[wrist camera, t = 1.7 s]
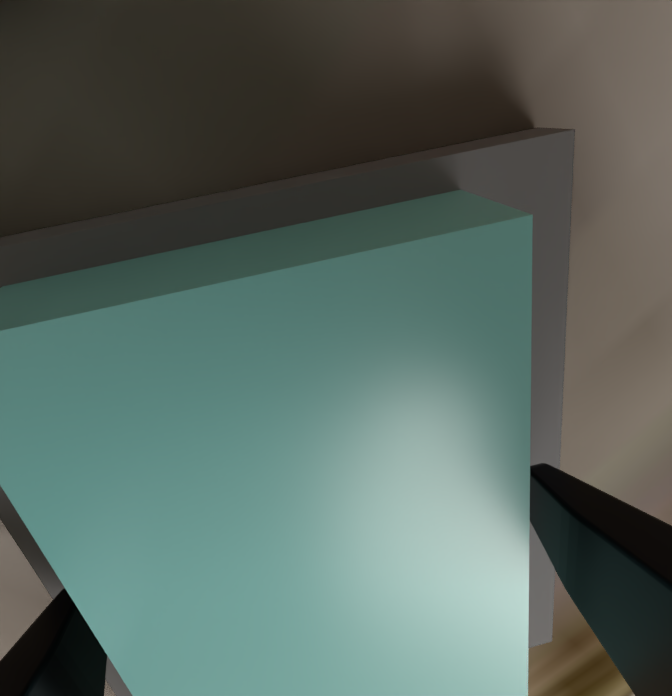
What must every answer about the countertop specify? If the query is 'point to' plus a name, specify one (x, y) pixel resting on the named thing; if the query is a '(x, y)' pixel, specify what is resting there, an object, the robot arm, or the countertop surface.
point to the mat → (337, 199)
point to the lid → (288, 453)
